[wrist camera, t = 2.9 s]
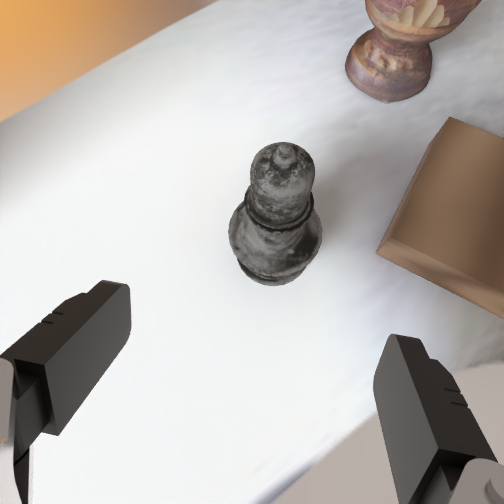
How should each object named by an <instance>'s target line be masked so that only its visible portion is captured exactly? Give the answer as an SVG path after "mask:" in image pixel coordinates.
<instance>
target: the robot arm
mask: <svg viewBox="0 0 504 504" xmlns="http://www.w3.org/2000/svg"><path fill="white" fill-rule="evenodd" d="M130 331H131V303H130V288H129V286H128V285H127V284H123V283H117V282H112V281H106V280H102V281H100V282H99V283H98V284H97V285H95V286H94V287H93V288H92V289H91V290H90V291H89V292H88V293H80V294H78V295H76V296H74V297H72V298H69V299H67V300H65V301H64V302H63V303H62V304H60V305H59V306H58V307H57V308H56V309H54V310H53V311H52V314H51V313H50V314H48V315H47V316H46V317H45V318H44V319H43V320H42V322H41V323H38V324H37V325H35V326H34V327H33V328H32V329H31V330H29V331H28V332H27V333H26V334H25V335H24V336H22V337H21V338H20V339H19V340H18V341H16V342H15V343H14V344H13V345H12V346H10V347H9V348H8V349H7V350H6V351H5V352H3V353H2V354H1V355H0V504H32V495H33V445H32V443H33V442H34V441H35V439H36V438H37V437H38V435H39V434H40V433H41V432H43V433H47V434H52V435H56V436H59V434H60V433H61V432H62V430H63V429H64V427H65V426H66V425H67V423H68V422H69V421H70V419H71V418H72V416H73V415H74V414H75V412H76V411H77V410H78V408H79V407H80V406H81V404H82V403H83V401H84V400H85V399H86V397H87V396H88V395H89V393H90V392H91V390H92V389H93V388H94V386H95V385H96V384H97V382H98V381H99V380H100V378H101V377H102V375H103V374H104V373H105V371H106V370H107V369H108V367H109V366H110V365H111V363H112V362H113V360H114V359H115V358H116V356H117V355H118V354H119V352H120V351H121V349H122V348H123V347H124V345H125V344H126V342H127V340H128V338H129V335H130ZM373 391H374V397H375V401H376V406H377V410H378V414H379V419H380V423H381V427H382V432H383V436H384V440H385V444H386V449H387V453H388V457H389V462H390V466H391V471H392V475H393V479H394V484H395V488H396V492H397V497H398V501H399V504H504V466H503V465H501V464H499V463H498V461H497V459H496V457H495V456H494V454H493V452H492V450H491V448H490V446H489V444H488V443H487V440H486V439H485V437H484V435H483V433H482V431H481V429H480V427H479V425H478V423H477V421H476V420H475V418H474V416H473V414H472V412H471V410H470V409H469V408H468V404H467V403H466V401H465V399H464V397H463V395H462V394H460V389H459V387H458V385H457V384H456V382H455V380H454V378H453V376H452V375H451V374H450V373H449V372H448V371H447V369H446V368H445V367H444V366H443V365H442V364H441V363H440V362H439V361H438V360H435V359H430V358H429V356H428V354H427V352H426V350H425V348H424V346H423V343H422V342H421V340H420V339H418V338H413V337H407V336H402V335H397V334H391V335H390V336H389V337H388V339H387V342H386V344H385V347H384V350H383V353H382V355H381V358H380V361H379V363H378V366H377V369H376V372H375V375H374V382H373Z"/></svg>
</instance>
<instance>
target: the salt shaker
mask: <svg viewBox="0 0 504 504" xmlns="http://www.w3.org/2000/svg"><path fill="white" fill-rule="evenodd" d="M314 178H315V167H314V163H313V160H312V158H311V156H310V155H309V154H308V153H307V152H306V151H305V150H304V149H303V148H301V147H299V146H298V145H295V144H292V143H287V142H279V143H274V144H271V145H268V146H266V147H264V148H263V149H261V150H260V151H259V152H258V153H257V154H256V156H255V158H254V160H253V162H252V164H251V170H250V180H251V185H250V186H249V187H248V189H247V191H246V193H245V198H244V201H243V202H242V203H241V204H240V205H239V206H238V207H237V209H236V210H235V211H234V213H233V215H232V218H231V220H230V224H229V230H228V233H229V241H230V245H231V247H232V250H233V252H234V254H235V255H236V257H237V260H238V262H239V264H240V267H241V269H242V270H243V271H244V272H245V274H246V275H247V276H248V277H250V278H251V279H252V280H254V281H255V282H258V283H260V284H263V285H269V286H278V285H284V284H286V283H289V282H291V281H293V280H294V279H296V278H297V277H298V276H299V275H300V274H301V273H302V272H303V270H304V269H305V268H306V266H307V265H308V264H309V263H311V261H312V260H313V258H314V257H315V256H316V254H317V253H318V250H319V248H320V245H321V242H322V227H321V223H320V219H319V217H318V215H317V214H316V212H315V210H314V209H313V207H314V199H313V195H312V192H311V188H312V185H313V182H314Z"/></svg>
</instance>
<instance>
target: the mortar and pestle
mask: <svg viewBox="0 0 504 504" xmlns="http://www.w3.org/2000/svg"><path fill="white" fill-rule="evenodd" d="M480 1H481V0H365V5H366V11H367V13H368V16H369V18H370V20H371V21H372V23H373V25H374V28H373V29H371V30H369V31H367V32H365V33H364V34H363V35H361V36H360V37H359V38H358V39H357V41H356V42H355V43H354V45H353V46H352V48H351V49H350V51H349V54H348V56H347V59H346V64H345V69H346V73H347V76H348V78H349V79H350V81H351V82H352V83H353V84H354V85H355V86H356V87H357V88H358V89H360V90H361V91H363V92H365V93H366V94H368V95H370V96H371V97H373V98H376V99H378V100H380V101H382V102H384V103H386V104H387V103H390V102H394V101H400V100H403V99H406V98H409V97H411V96H413V95H415V94H417V93H419V92H420V91H422V90H423V89H424V87H425V86H426V85H427V83H428V81H429V78H430V73H431V66H432V52H431V49H430V46H429V43H430V42H432V41H435V40H437V39H439V38H441V37H443V36H445V35H447V34H449V33H450V32H452V31H453V30H454V29H455V28H456V27H457V26H458V25H459V24H460V23H462V22H463V20H464V19H465V18H466V16H467V15H468V14H469V13H470V12H471V11H472V10H473V9H474V8H475V7H476V6H477V5H478V4H479V3H480Z"/></svg>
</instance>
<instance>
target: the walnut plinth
mask: <svg viewBox="0 0 504 504" xmlns="http://www.w3.org/2000/svg"><path fill="white" fill-rule="evenodd" d="M376 254H378V255H380V256H382V257H384V258H386V259H388V260H390V261H391V262H393V263H395V264H397V265H399V266H401V267H403V268H405V269H407V270H409V271H411V272H413V273H415V274H417V275H419V276H421V277H423V278H425V279H427V280H429V281H431V282H433V283H435V284H437V285H439V286H441V287H443V288H445V289H447V290H449V291H451V292H453V293H454V294H456V295H458V296H460V297H462V298H464V299H466V300H468V301H470V302H472V303H474V304H476V305H478V306H480V307H482V308H484V309H486V310H488V311H490V312H492V313H494V314H496V315H498V316H500V317H502V318H504V139H503V138H501V137H498V136H496V135H493V134H491V133H489V132H486V131H484V130H481V129H479V128H476V127H474V126H471V125H469V124H467V123H464V122H462V121H459V120H457V119H454V118H452V117H449V118H448V120H447V121H446V122H445V124H444V125H443V126H442V128H441V129H440V130H439V132H438V133H437V134H436V136H435V137H434V138H433V140H432V141H431V142H430V144H429V146H428V148H427V150H426V152H425V154H424V156H423V158H422V160H421V162H420V164H419V166H418V168H417V171H416V173H415V175H414V177H413V179H412V181H411V183H410V185H409V187H408V189H407V191H406V193H405V195H404V197H403V199H402V201H401V203H400V205H399V207H398V209H397V211H396V213H395V215H394V217H393V219H392V221H391V223H390V225H389V227H388V229H387V231H386V233H385V235H384V237H383V239H382V242H381V244H380V246H379V248H378V250H377V252H376Z"/></svg>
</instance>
